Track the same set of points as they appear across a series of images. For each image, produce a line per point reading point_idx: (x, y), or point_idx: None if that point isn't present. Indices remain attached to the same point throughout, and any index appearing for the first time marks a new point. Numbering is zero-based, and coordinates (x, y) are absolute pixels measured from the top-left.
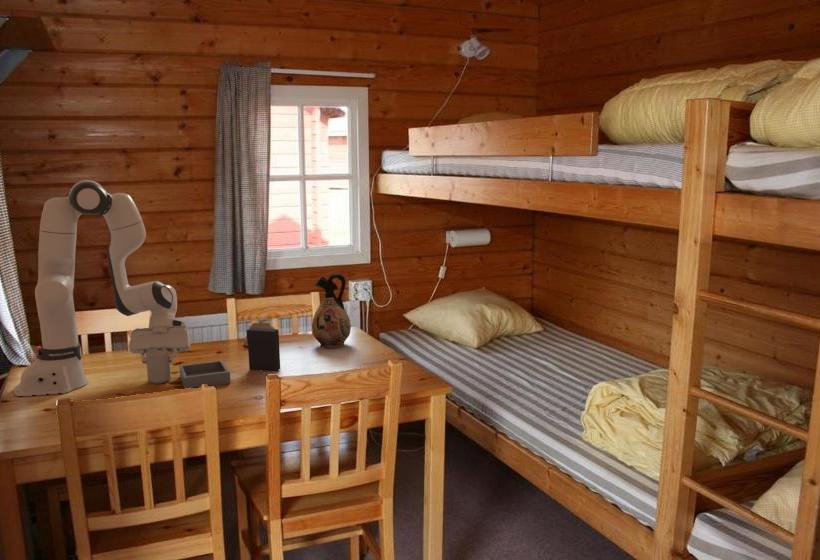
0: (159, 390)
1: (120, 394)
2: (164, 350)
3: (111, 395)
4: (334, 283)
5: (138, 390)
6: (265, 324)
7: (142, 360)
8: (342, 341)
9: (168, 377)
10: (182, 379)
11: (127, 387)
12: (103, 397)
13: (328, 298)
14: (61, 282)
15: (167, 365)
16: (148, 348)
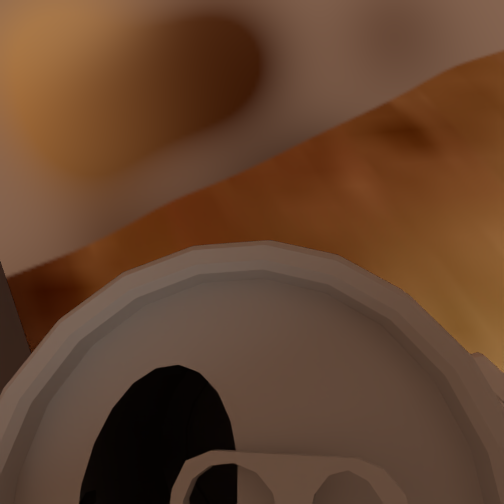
0: (171, 216)
1: (396, 127)
2: (17, 445)
3: (443, 108)
4: None
5: (320, 203)
6: None
7: (476, 362)
8: None
9: (160, 417)
10: (15, 370)
11: (443, 254)
12: (468, 76)
13: None
14: None
15: (115, 417)
16: (493, 436)
